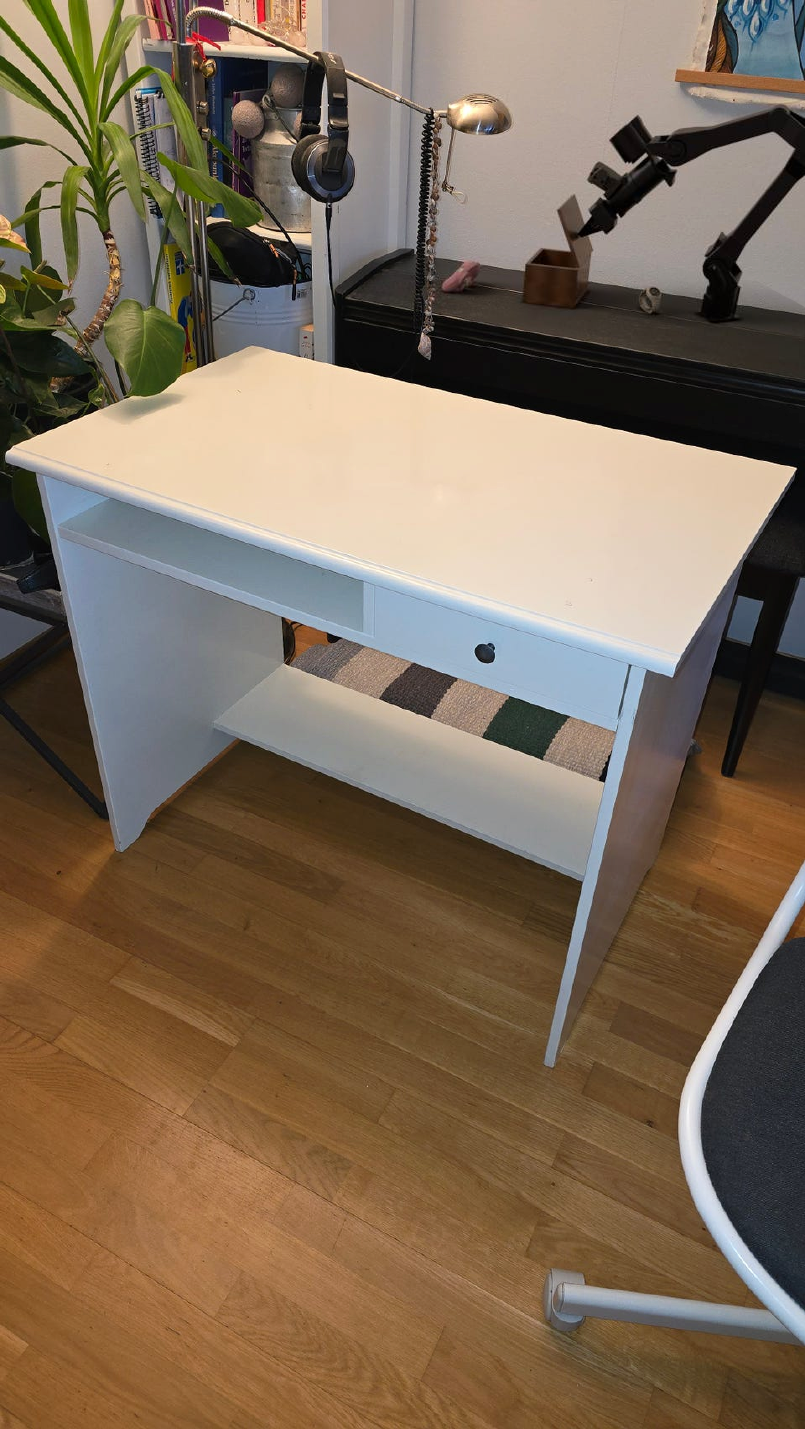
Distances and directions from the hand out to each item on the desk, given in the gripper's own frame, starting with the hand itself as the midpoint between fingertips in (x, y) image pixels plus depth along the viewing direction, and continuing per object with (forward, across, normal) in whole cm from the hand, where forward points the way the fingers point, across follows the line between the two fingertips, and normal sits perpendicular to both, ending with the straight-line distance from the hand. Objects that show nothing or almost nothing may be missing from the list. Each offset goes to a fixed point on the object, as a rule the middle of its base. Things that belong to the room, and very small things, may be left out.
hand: (579, 235), depth 211 cm
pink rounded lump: (+27, +2, -8) cm, 29 cm away
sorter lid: (0, 0, -1) cm, 1 cm away
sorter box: (+12, 0, +6) cm, 14 cm away
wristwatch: (-3, +2, +22) cm, 22 cm away
